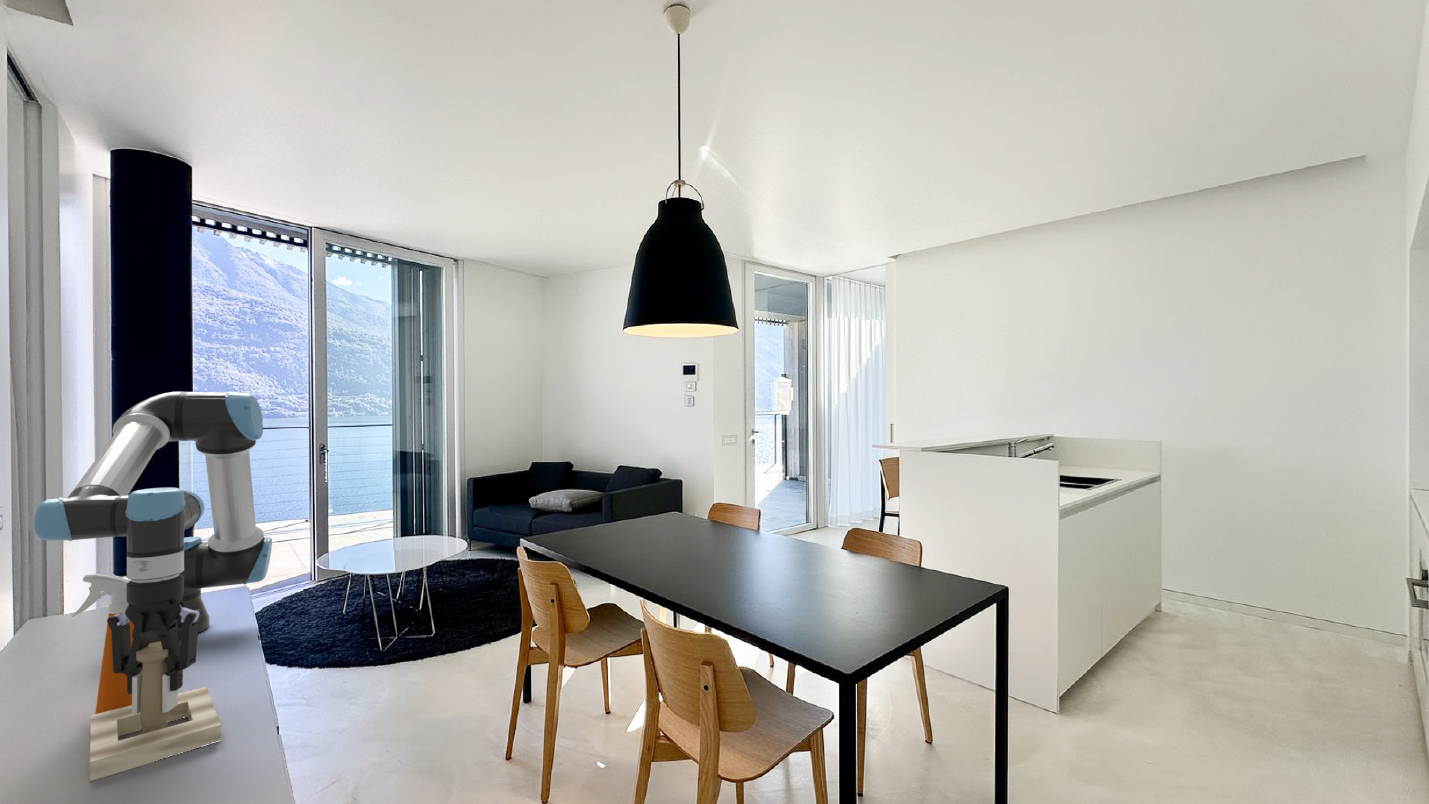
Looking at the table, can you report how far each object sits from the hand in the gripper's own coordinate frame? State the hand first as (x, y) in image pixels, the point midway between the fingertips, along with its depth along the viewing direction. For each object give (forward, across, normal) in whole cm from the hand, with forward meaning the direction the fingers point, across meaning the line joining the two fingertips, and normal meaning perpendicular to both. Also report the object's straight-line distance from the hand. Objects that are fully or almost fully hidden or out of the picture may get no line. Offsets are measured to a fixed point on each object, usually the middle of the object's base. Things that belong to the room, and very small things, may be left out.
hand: (155, 709), depth 109 cm
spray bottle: (+5, -15, +12) cm, 20 cm away
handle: (+4, 0, 0) cm, 4 cm away
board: (+5, 0, 0) cm, 5 cm away
